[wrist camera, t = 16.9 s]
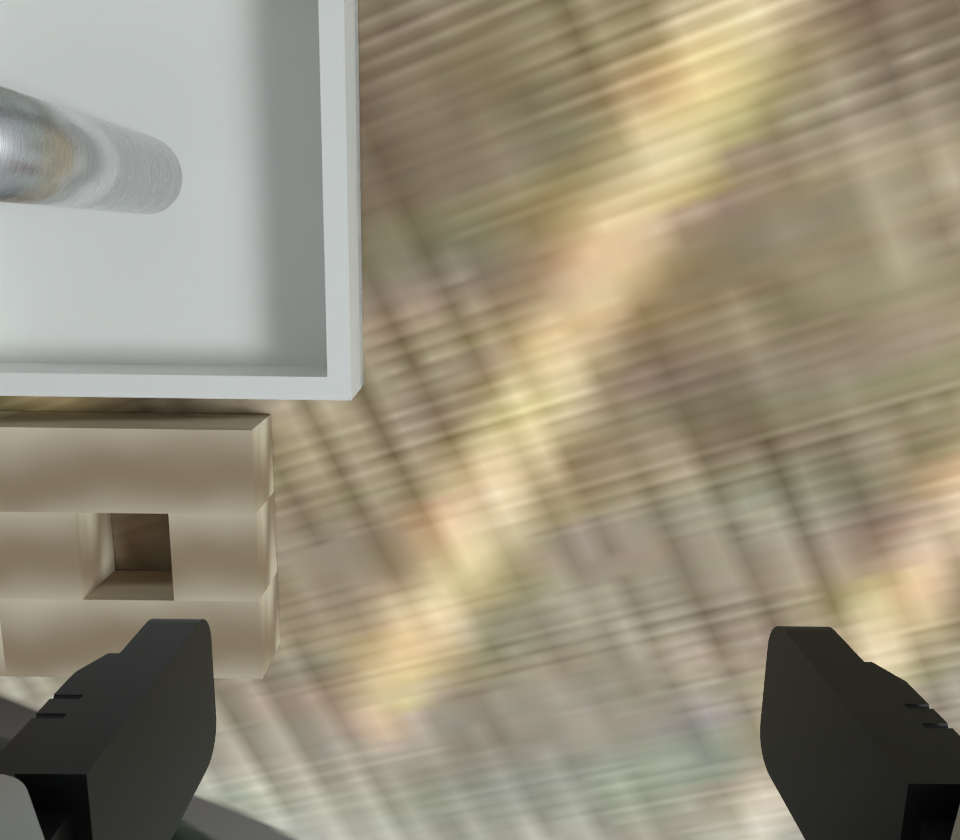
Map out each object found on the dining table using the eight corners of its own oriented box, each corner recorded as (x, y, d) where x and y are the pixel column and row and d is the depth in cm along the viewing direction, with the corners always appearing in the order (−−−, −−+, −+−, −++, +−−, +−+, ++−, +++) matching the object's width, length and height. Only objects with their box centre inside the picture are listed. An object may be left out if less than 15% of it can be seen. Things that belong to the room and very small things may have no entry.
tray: (-87, -58, 35) (-158, -97, 31) (356, -50, 35) (342, -87, 31) (-36, 379, 39) (-92, 394, 35) (363, 384, 39) (351, 400, 35)
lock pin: (84, 116, 36) (-256, 6, 19) (195, 118, 36) (-48, 10, 19) (93, 229, 37) (-222, 218, 20) (201, 231, 37) (-25, 222, 20)
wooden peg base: (-189, 408, 39) (-312, 438, 33) (270, 414, 39) (232, 445, 33) (-152, 639, 42) (-261, 706, 36) (279, 643, 42) (246, 711, 36)
